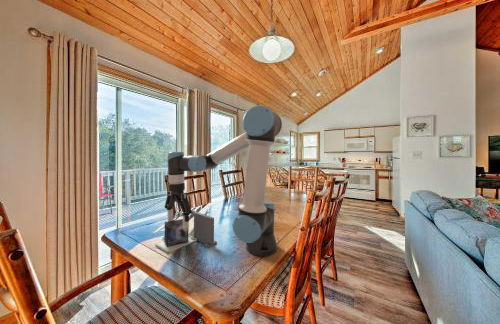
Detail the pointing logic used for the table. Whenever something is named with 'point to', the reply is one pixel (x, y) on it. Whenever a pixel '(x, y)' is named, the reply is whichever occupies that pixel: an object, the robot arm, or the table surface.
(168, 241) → the small box
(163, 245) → the pad
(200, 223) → the screen
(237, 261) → the table surface
